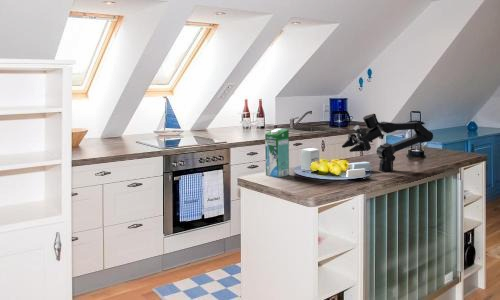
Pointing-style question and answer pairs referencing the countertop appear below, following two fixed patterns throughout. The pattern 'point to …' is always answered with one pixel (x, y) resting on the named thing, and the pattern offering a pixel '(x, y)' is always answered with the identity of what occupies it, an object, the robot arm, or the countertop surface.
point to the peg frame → (354, 172)
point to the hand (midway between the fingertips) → (345, 148)
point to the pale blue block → (361, 165)
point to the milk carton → (277, 152)
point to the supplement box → (309, 157)
